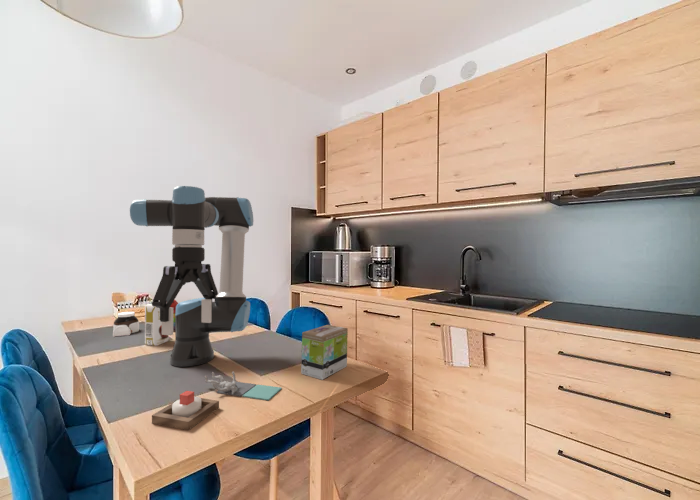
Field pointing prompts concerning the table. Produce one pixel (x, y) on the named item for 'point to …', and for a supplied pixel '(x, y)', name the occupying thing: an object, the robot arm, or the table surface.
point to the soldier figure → (223, 383)
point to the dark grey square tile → (240, 389)
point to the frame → (185, 423)
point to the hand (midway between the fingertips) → (188, 328)
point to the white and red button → (186, 405)
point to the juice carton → (153, 326)
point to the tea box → (324, 351)
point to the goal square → (262, 392)
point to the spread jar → (125, 324)
